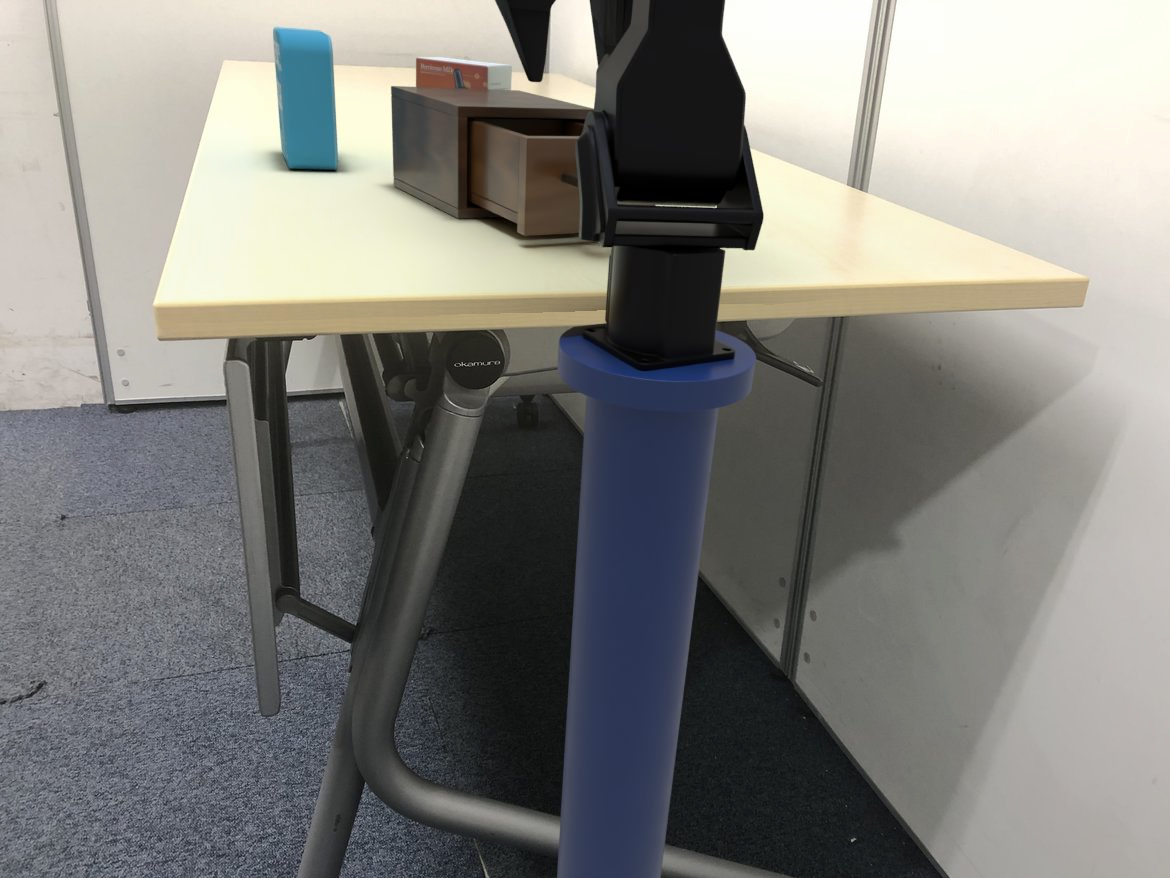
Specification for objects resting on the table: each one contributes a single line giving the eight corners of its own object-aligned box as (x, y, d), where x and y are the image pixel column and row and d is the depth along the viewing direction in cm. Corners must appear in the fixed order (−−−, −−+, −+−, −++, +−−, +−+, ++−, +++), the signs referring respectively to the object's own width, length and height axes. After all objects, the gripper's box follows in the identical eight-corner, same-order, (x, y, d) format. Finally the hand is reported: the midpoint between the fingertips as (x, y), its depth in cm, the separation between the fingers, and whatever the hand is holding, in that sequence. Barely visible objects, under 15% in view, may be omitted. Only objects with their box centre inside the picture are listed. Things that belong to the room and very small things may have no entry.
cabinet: (591, 213, 86) (598, 109, 82) (457, 218, 79) (458, 106, 76) (516, 183, 97) (519, 90, 93) (393, 186, 90) (390, 85, 86)
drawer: (684, 241, 74) (693, 147, 71) (551, 249, 68) (555, 147, 65) (569, 196, 87) (573, 116, 84) (450, 200, 81) (449, 113, 78)
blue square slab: (281, 152, 102) (272, 25, 97) (326, 153, 104) (319, 29, 99) (289, 171, 92) (279, 32, 87) (339, 172, 94) (332, 36, 89)
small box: (414, 168, 100) (412, 56, 95) (441, 162, 104) (441, 55, 100) (486, 178, 98) (487, 64, 93) (510, 172, 102) (512, 63, 98)
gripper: (763, -146, 65) (735, 103, 72) (589, -134, 78) (579, 78, 84) (637, -177, 58) (619, 102, 65) (469, -158, 71) (468, 75, 77)
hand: (571, 88), depth 73 cm, fingers open, 9 cm apart
